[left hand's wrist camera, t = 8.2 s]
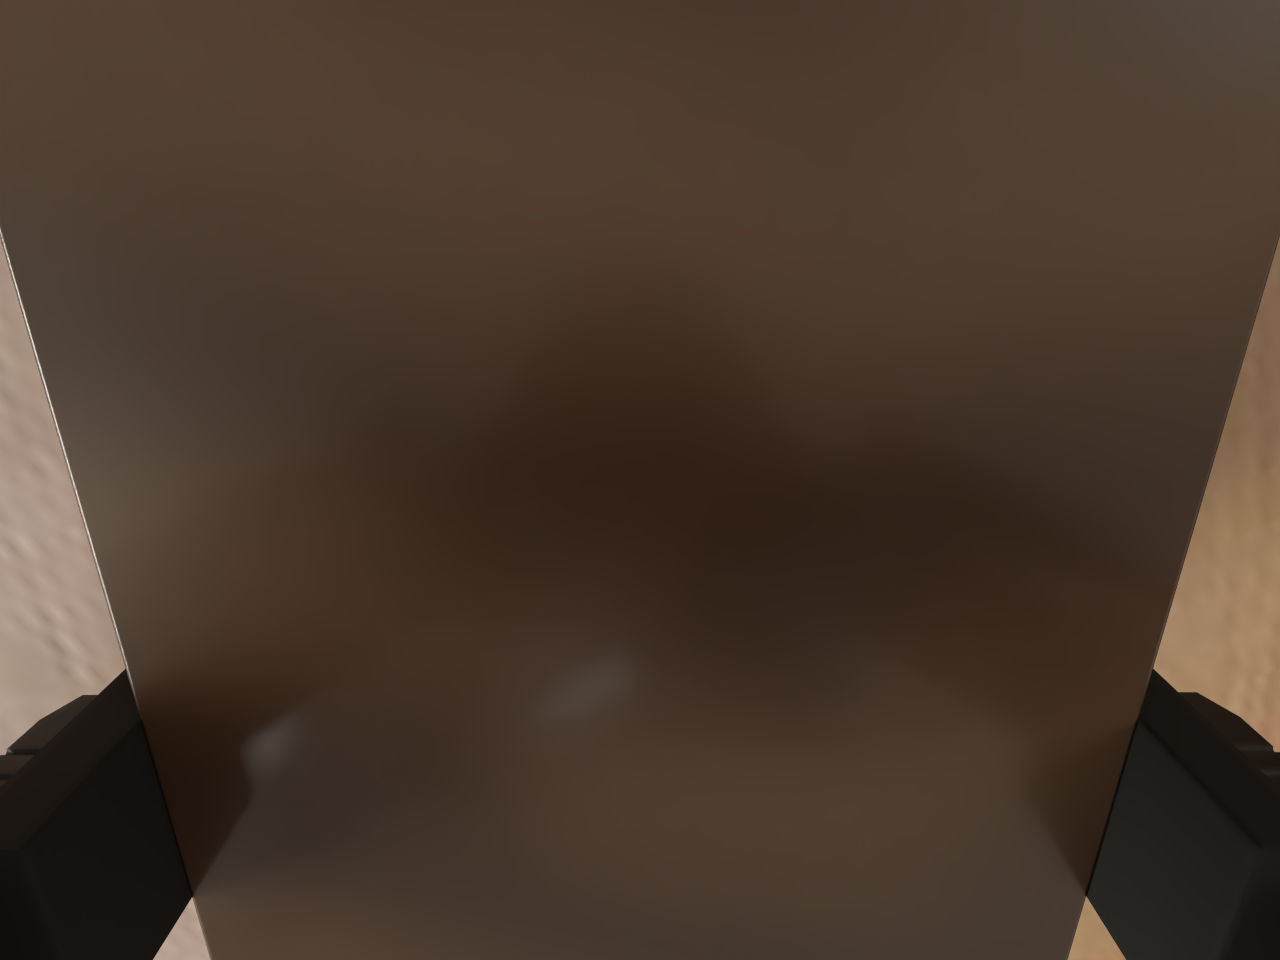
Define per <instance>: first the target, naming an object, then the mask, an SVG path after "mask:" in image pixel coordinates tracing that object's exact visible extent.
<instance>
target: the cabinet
mask: <svg viewBox="0 0 1280 960" xmlns="http://www.w3.org/2000/svg"><path fill="white" fill-rule="evenodd" d="M1279 237H1280V0H0V238H1V242H2V245H3V249H4V252H5V256H6V259H7V263H8V266H9V269H10V273H11V276H12V280H13V283H14V287H15V290H16V293H17V297H18V300H19V304H20V307H21V311H22V314H23V317H24V321H25V324H26V328H27V331H28V335H29V338H30V341H31V345H32V348H33V352H34V355H35V359H36V362H37V365H38V369H39V372H40V376H41V379H42V383H43V386H44V389H45V393H46V396H47V400H48V403H49V407H50V410H51V413H52V417H53V420H54V424H55V427H56V431H57V434H58V437H59V441H60V444H61V448H62V451H63V455H64V458H65V462H66V465H67V468H68V472H69V475H70V479H71V482H72V486H73V489H74V492H75V496H76V499H77V503H78V506H79V510H80V513H81V516H82V520H83V523H84V527H85V530H86V534H87V537H88V540H89V544H90V547H91V551H92V554H93V558H94V561H95V564H96V568H97V571H98V575H99V578H100V582H101V585H102V588H103V592H104V595H105V599H106V602H107V606H108V609H109V612H110V616H111V619H112V623H113V626H114V630H115V633H116V637H117V640H118V643H119V647H120V650H121V654H122V657H123V661H124V664H125V667H126V671H127V674H128V678H129V681H130V685H131V688H132V691H133V695H134V698H135V702H136V705H137V709H138V712H139V715H140V719H141V722H142V726H143V729H144V733H145V736H146V739H147V743H148V746H149V750H150V753H151V757H152V760H153V763H154V767H155V770H156V774H157V777H158V781H159V784H160V787H161V791H162V794H163V798H164V801H165V805H166V808H167V811H168V815H169V818H170V822H171V825H172V829H173V832H174V836H175V839H176V842H177V846H178V849H179V853H180V856H181V860H182V863H183V866H184V870H185V873H186V877H187V880H188V884H189V887H190V890H191V894H192V897H193V901H194V904H195V908H196V911H197V914H198V918H199V921H200V925H201V928H202V932H203V935H204V938H205V942H206V945H207V949H208V952H209V956H210V959H211V960H1067V959H1068V956H1069V952H1070V949H1071V946H1072V942H1073V939H1074V935H1075V932H1076V929H1077V925H1078V922H1079V918H1080V915H1081V912H1082V908H1083V905H1084V901H1085V898H1086V894H1087V891H1088V888H1089V884H1090V881H1091V877H1092V874H1093V871H1094V867H1095V864H1096V860H1097V857H1098V854H1099V850H1100V847H1101V843H1102V840H1103V837H1104V833H1105V830H1106V826H1107V823H1108V819H1109V816H1110V813H1111V809H1112V806H1113V802H1114V799H1115V796H1116V792H1117V789H1118V785H1119V782H1120V779H1121V775H1122V772H1123V768H1124V765H1125V762H1126V758H1127V755H1128V751H1129V748H1130V745H1131V741H1132V738H1133V734H1134V731H1135V727H1136V724H1137V721H1138V717H1139V714H1140V710H1141V707H1142V704H1143V700H1144V697H1145V693H1146V690H1147V687H1148V683H1149V680H1150V676H1151V673H1152V670H1153V666H1154V663H1155V659H1156V656H1157V652H1158V649H1159V646H1160V642H1161V639H1162V635H1163V632H1164V629H1165V625H1166V622H1167V618H1168V615H1169V612H1170V608H1171V605H1172V601H1173V598H1174V595H1175V591H1176V588H1177V584H1178V581H1179V578H1180V574H1181V571H1182V567H1183V564H1184V560H1185V557H1186V554H1187V550H1188V547H1189V543H1190V540H1191V537H1192V533H1193V530H1194V526H1195V523H1196V520H1197V516H1198V513H1199V509H1200V506H1201V503H1202V499H1203V496H1204V492H1205V489H1206V486H1207V482H1208V479H1209V475H1210V472H1211V468H1212V465H1213V462H1214V458H1215V455H1216V451H1217V448H1218V445H1219V441H1220V438H1221V434H1222V431H1223V428H1224V424H1225V421H1226V417H1227V414H1228V411H1229V407H1230V404H1231V400H1232V397H1233V393H1234V390H1235V387H1236V383H1237V380H1238V376H1239V373H1240V370H1241V366H1242V363H1243V359H1244V356H1245V353H1246V349H1247V346H1248V342H1249V339H1250V336H1251V332H1252V329H1253V325H1254V322H1255V319H1256V315H1257V312H1258V308H1259V305H1260V301H1261V298H1262V295H1263V291H1264V288H1265V284H1266V281H1267V278H1268V274H1269V271H1270V267H1271V264H1272V261H1273V257H1274V254H1275V250H1276V247H1277V244H1278V240H1279Z"/></svg>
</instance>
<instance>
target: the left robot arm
mask: <svg viewBox="0 0 1280 960" xmlns="http://www.w3.org/2000/svg"><path fill="white" fill-rule="evenodd" d="M1086 896H1087V898H1088V899H1089V901H1090V902H1091V904H1092V906H1093V907H1094V909H1095V910H1096V912H1097V914H1098V915H1099V917H1100V918H1101V920H1102V922H1103V923H1104V925H1105V926H1106V928H1107V930H1108V931H1109V933H1110V934H1111V936H1112V938H1113V939H1114V941H1115V942H1116V944H1117V946H1118V947H1119V949H1120V950H1121V952H1122V954H1123V955H1124V957H1125V958H1126V960H1280V752H1274V751H1273V746H1272V745H1271V744H1270V743H1269V742H1267V741H1266V740H1265V739H1264V738H1263V737H1262V736H1261V735H1260V734H1258V733H1257V732H1256V731H1255V730H1254V729H1253V728H1252V727H1251V726H1249V725H1248V724H1247V723H1246V722H1245V721H1244V720H1243V719H1242V718H1240V717H1239V716H1237V715H1235V714H1234V713H1232V712H1230V711H1228V710H1227V709H1225V708H1223V707H1221V706H1220V705H1218V704H1216V703H1214V702H1213V701H1211V700H1209V699H1207V698H1206V697H1204V696H1202V695H1200V694H1199V693H1197V692H1177V691H1176V690H1175V689H1174V688H1173V687H1172V686H1171V685H1170V684H1169V683H1168V682H1167V681H1166V680H1164V679H1163V678H1162V677H1161V676H1160V675H1159V674H1158V673H1157V672H1156V671H1155V670H1154V669H1153V670H1152V673H1151V676H1150V680H1149V683H1148V687H1147V690H1146V693H1145V697H1144V700H1143V704H1142V707H1141V710H1140V714H1139V717H1138V721H1137V724H1136V727H1135V731H1134V734H1133V738H1132V741H1131V745H1130V748H1129V751H1128V755H1127V758H1126V762H1125V765H1124V768H1123V772H1122V775H1121V779H1120V782H1119V785H1118V789H1117V792H1116V796H1115V799H1114V802H1113V806H1112V809H1111V813H1110V816H1109V819H1108V823H1107V826H1106V830H1105V833H1104V837H1103V840H1102V843H1101V847H1100V850H1099V854H1098V857H1097V860H1096V864H1095V867H1094V871H1093V874H1092V877H1091V881H1090V884H1089V888H1088V891H1087V894H1086ZM191 898H192V894H191V890H190V887H189V884H188V880H187V877H186V873H185V870H184V866H183V863H182V860H181V856H180V853H179V849H178V846H177V842H176V839H175V836H174V832H173V829H172V825H171V822H170V818H169V815H168V811H167V808H166V805H165V801H164V798H163V794H162V791H161V787H160V784H159V781H158V777H157V774H156V770H155V767H154V763H153V760H152V757H151V753H150V750H149V746H148V743H147V739H146V736H145V733H144V729H143V726H142V722H141V719H140V715H139V712H138V709H137V705H136V702H135V698H134V695H133V691H132V688H131V685H130V681H129V678H128V674H127V671H126V669H125V670H124V671H123V672H122V673H121V674H120V675H119V676H118V677H117V678H116V679H114V680H113V681H112V682H111V683H110V684H109V685H108V686H107V687H106V688H105V689H104V690H103V691H102V692H101V693H100V694H99V695H82V696H81V697H79V698H77V699H75V700H74V701H72V702H70V703H68V704H67V705H65V706H63V707H61V708H60V709H58V710H56V711H55V712H53V713H51V714H49V715H48V716H46V717H44V718H42V719H41V720H39V721H38V722H37V723H36V724H35V725H34V726H32V727H31V728H30V729H29V730H28V731H27V732H26V733H25V734H23V735H22V736H21V737H20V738H19V739H18V740H17V741H16V742H15V743H13V744H12V745H11V746H10V747H9V748H8V749H7V753H6V755H0V960H153V958H154V957H155V955H156V954H157V952H158V950H159V949H160V947H161V946H162V944H163V942H164V941H165V939H166V938H167V936H168V935H169V933H170V931H171V930H172V928H173V927H174V925H175V923H176V922H177V920H178V919H179V917H180V915H181V914H182V912H183V911H184V909H185V907H186V906H187V904H188V903H189V901H190V899H191Z"/></svg>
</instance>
